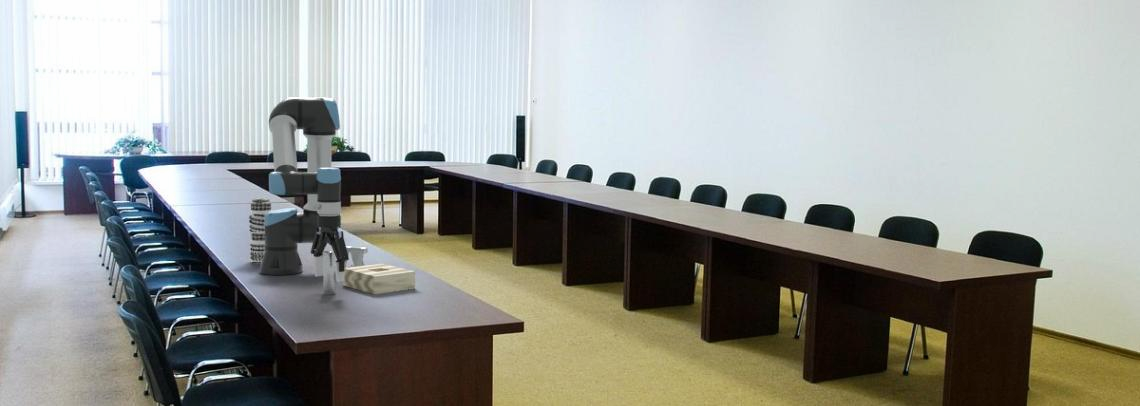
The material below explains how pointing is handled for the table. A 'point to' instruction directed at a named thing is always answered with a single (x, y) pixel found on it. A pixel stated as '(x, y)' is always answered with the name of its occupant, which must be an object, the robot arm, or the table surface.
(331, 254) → the steel pin
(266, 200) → the decorative candle
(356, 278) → the block
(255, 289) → the table surface
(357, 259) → the portable electronic device stand
